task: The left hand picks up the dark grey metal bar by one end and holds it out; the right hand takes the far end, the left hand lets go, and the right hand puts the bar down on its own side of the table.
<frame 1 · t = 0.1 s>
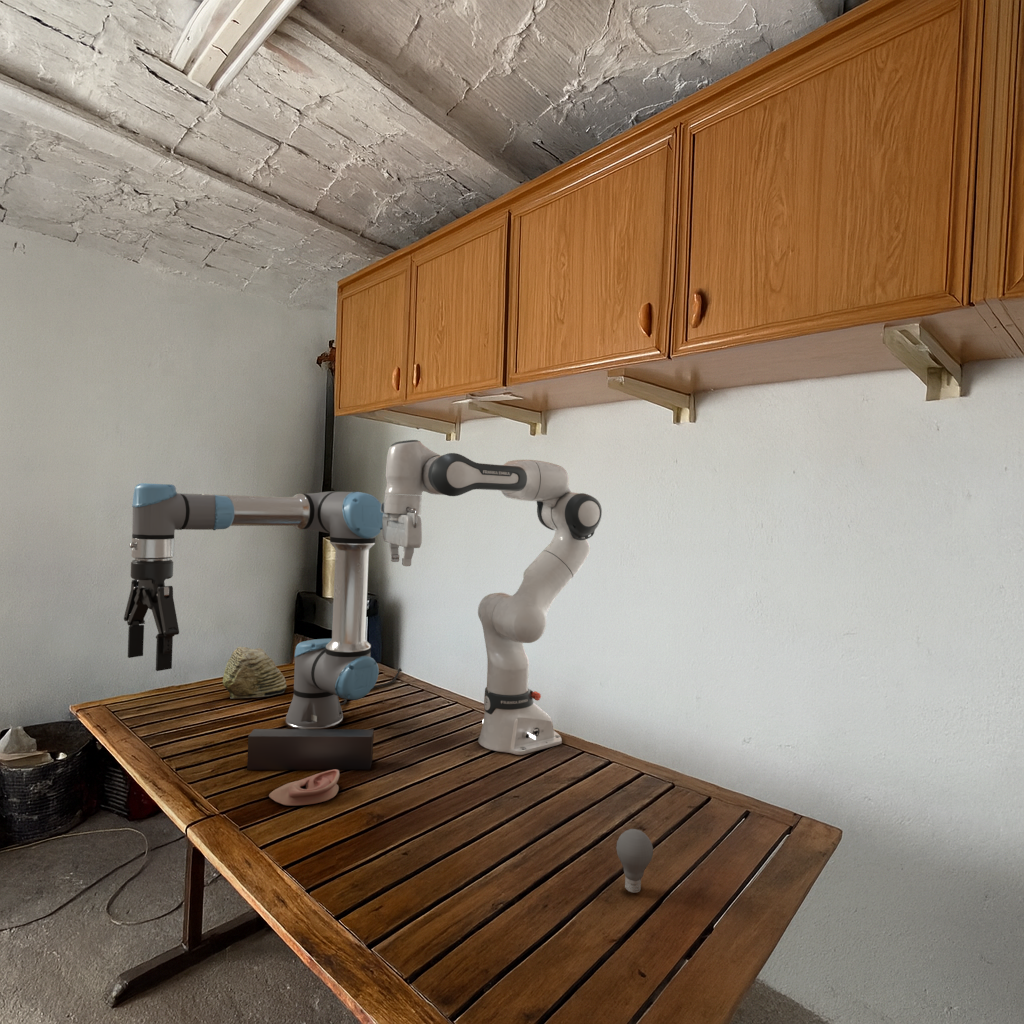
left hand: (149, 663, 129), 28 cm above the table, tool pointing down, fingers open, 13 cm apart
right hand: (400, 563, 153), 48 cm above the table, tool pointing down, fingers open, 8 cm apart
anatomical model: (304, 794, 134), on the table
light bulb: (632, 891, 106), on the table
bar: (311, 765, 149), on the table
fossil: (254, 694, 198), on the table
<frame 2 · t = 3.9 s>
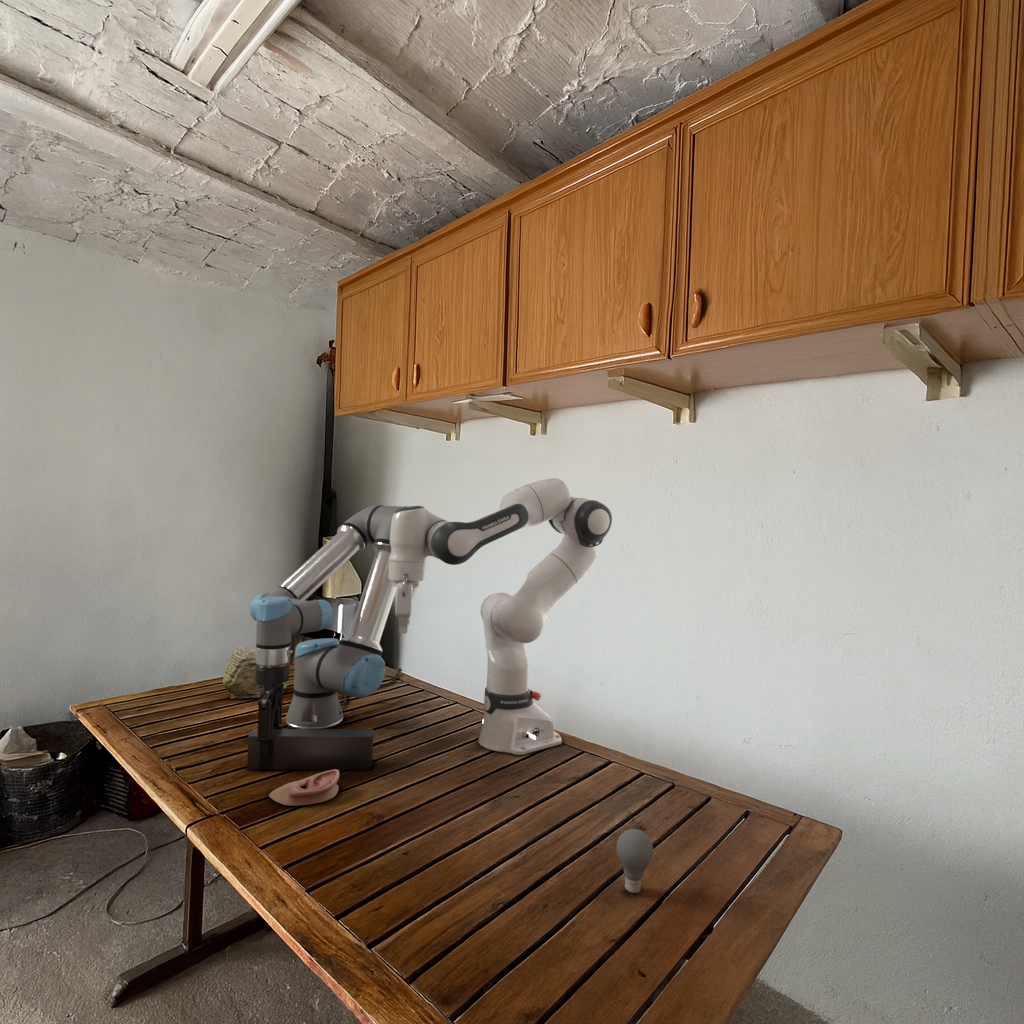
left hand: (269, 763, 148), 1 cm above the table, tool pointing down, fingers closed on bar, 5 cm apart
right hand: (404, 628, 154), 32 cm above the table, tool pointing down, fingers open, 8 cm apart
bar: (311, 765, 149), on the table, touching left hand
everything else where it was.
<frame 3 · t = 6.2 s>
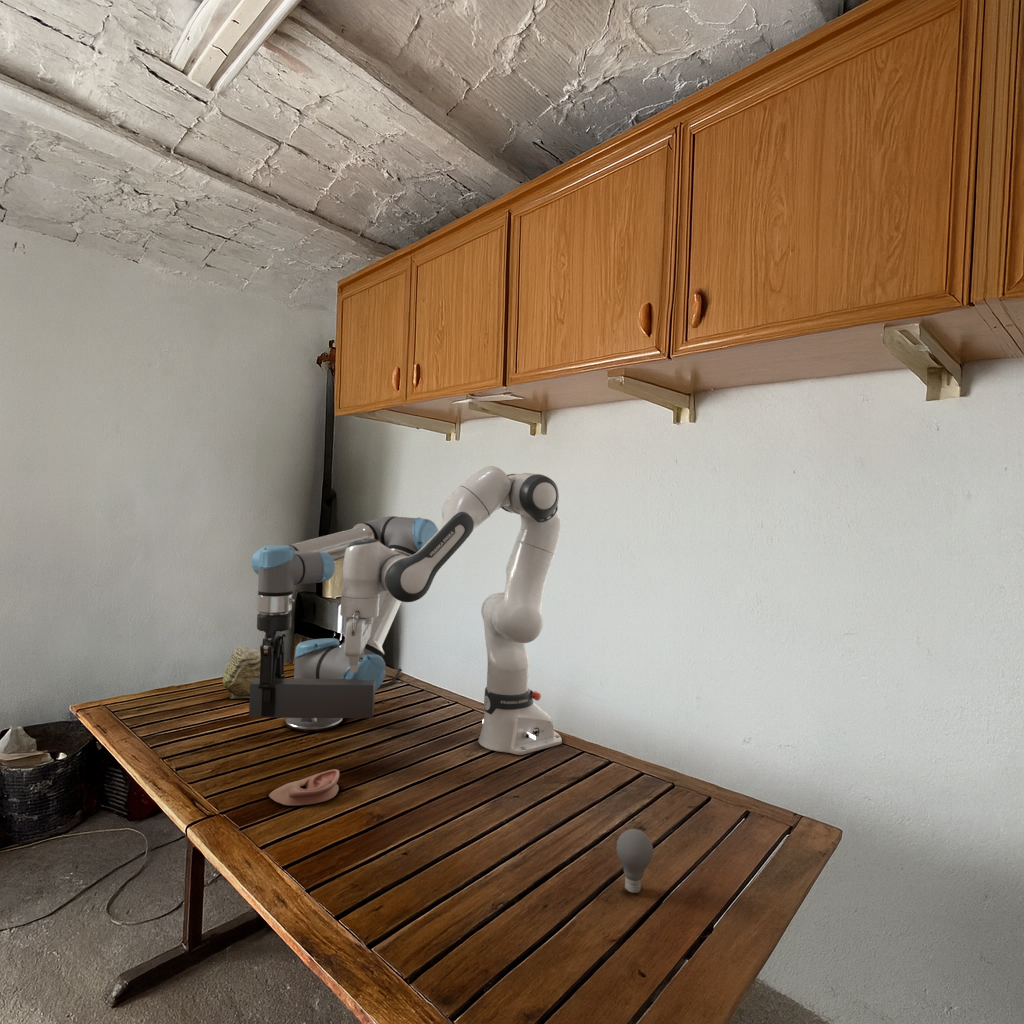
left hand: (270, 711, 148), 13 cm above the table, tool pointing down, fingers closed on bar, 5 cm apart
right hand: (356, 666, 149), 24 cm above the table, tool pointing down, fingers open, 8 cm apart
bar: (313, 714, 149), point 12 cm above the table, touching left hand
everything else where it was.
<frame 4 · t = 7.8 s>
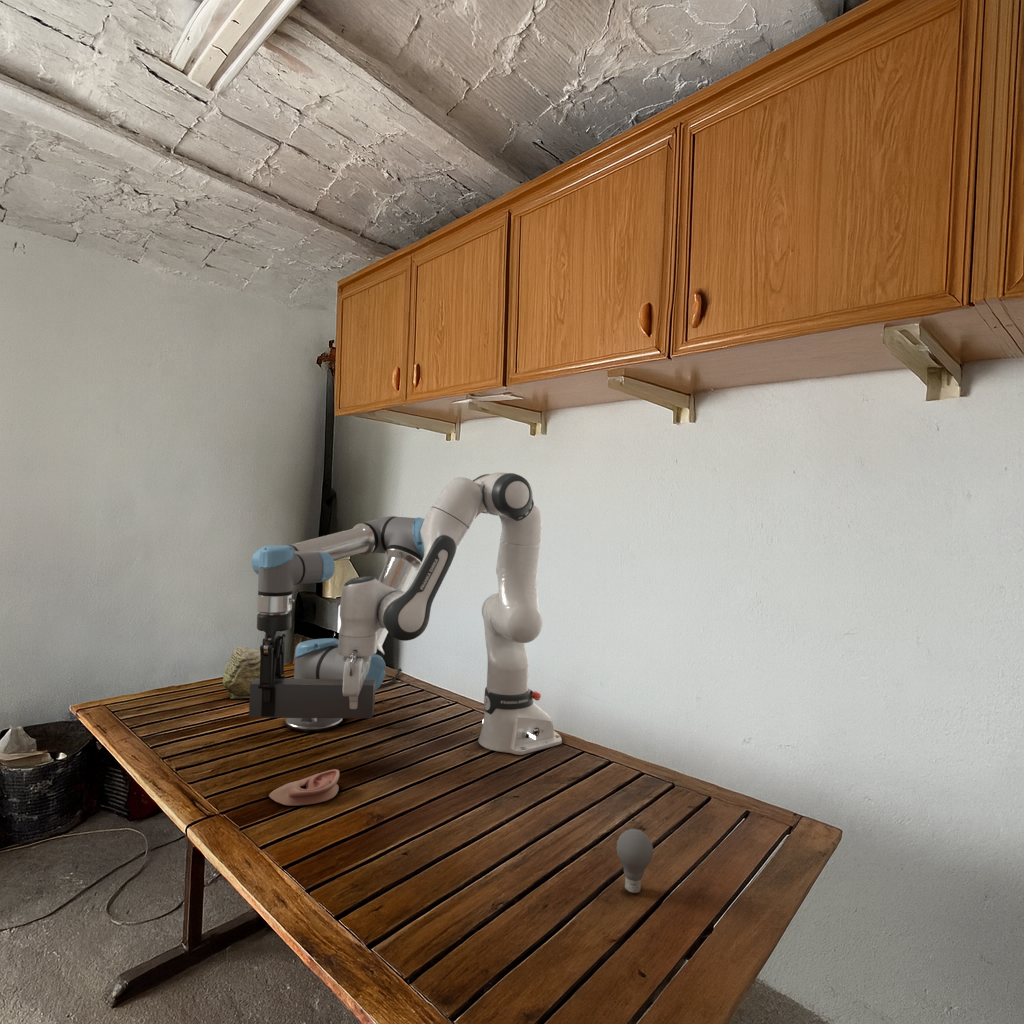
left hand: (270, 711, 148), 13 cm above the table, tool pointing down, fingers closed on bar, 5 cm apart
right hand: (355, 703, 150), 15 cm above the table, tool pointing down, fingers closed on bar, 4 cm apart
bar: (313, 714, 149), point 12 cm above the table, touching left hand, right hand
everything else where it was.
when the left hand's fingers open (13 cm above the table, at t = 8.5 s): bar stays where it is, held by the right hand.
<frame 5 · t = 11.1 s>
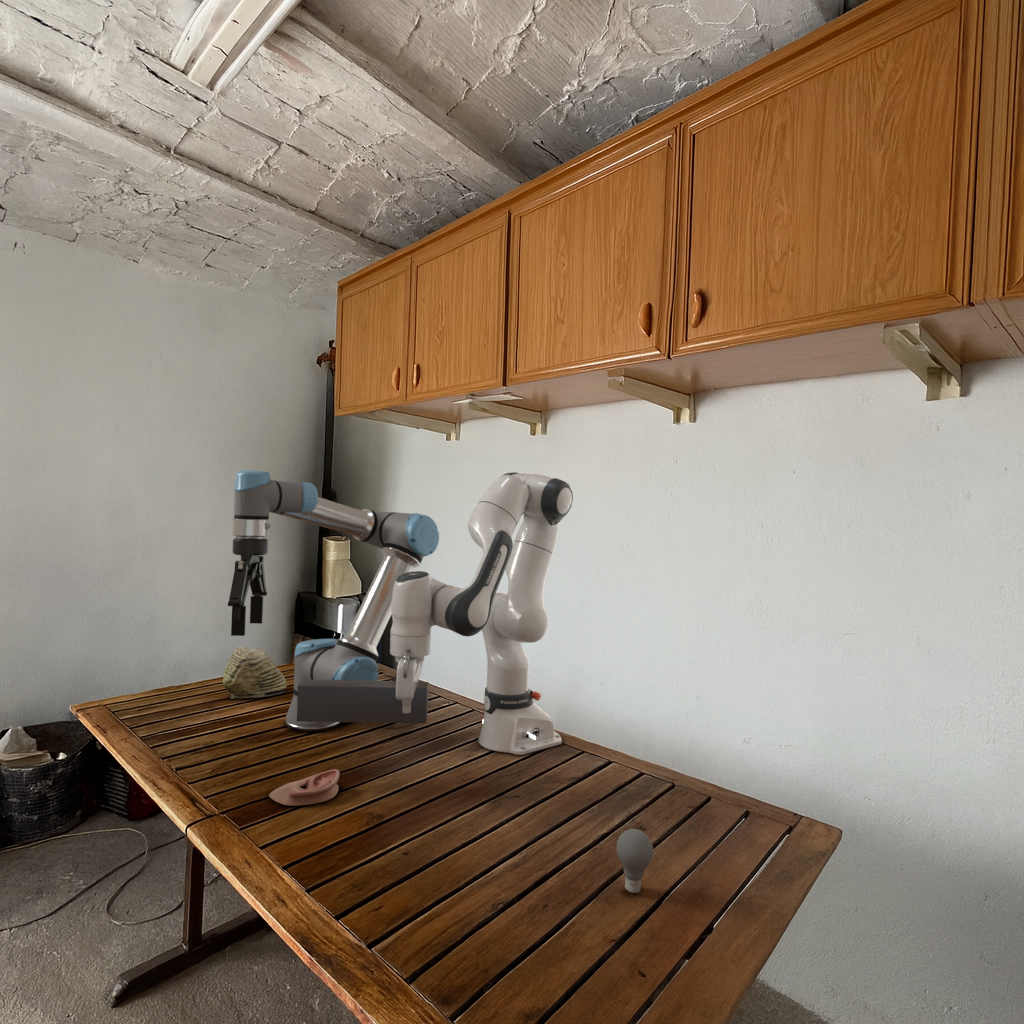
left hand: (247, 629, 146), 32 cm above the table, tool pointing down, fingers open, 13 cm apart
right hand: (408, 707, 140), 17 cm above the table, tool pointing down, fingers closed on bar, 4 cm apart
bar: (363, 718, 140), point 15 cm above the table, touching right hand
everything else where it was.
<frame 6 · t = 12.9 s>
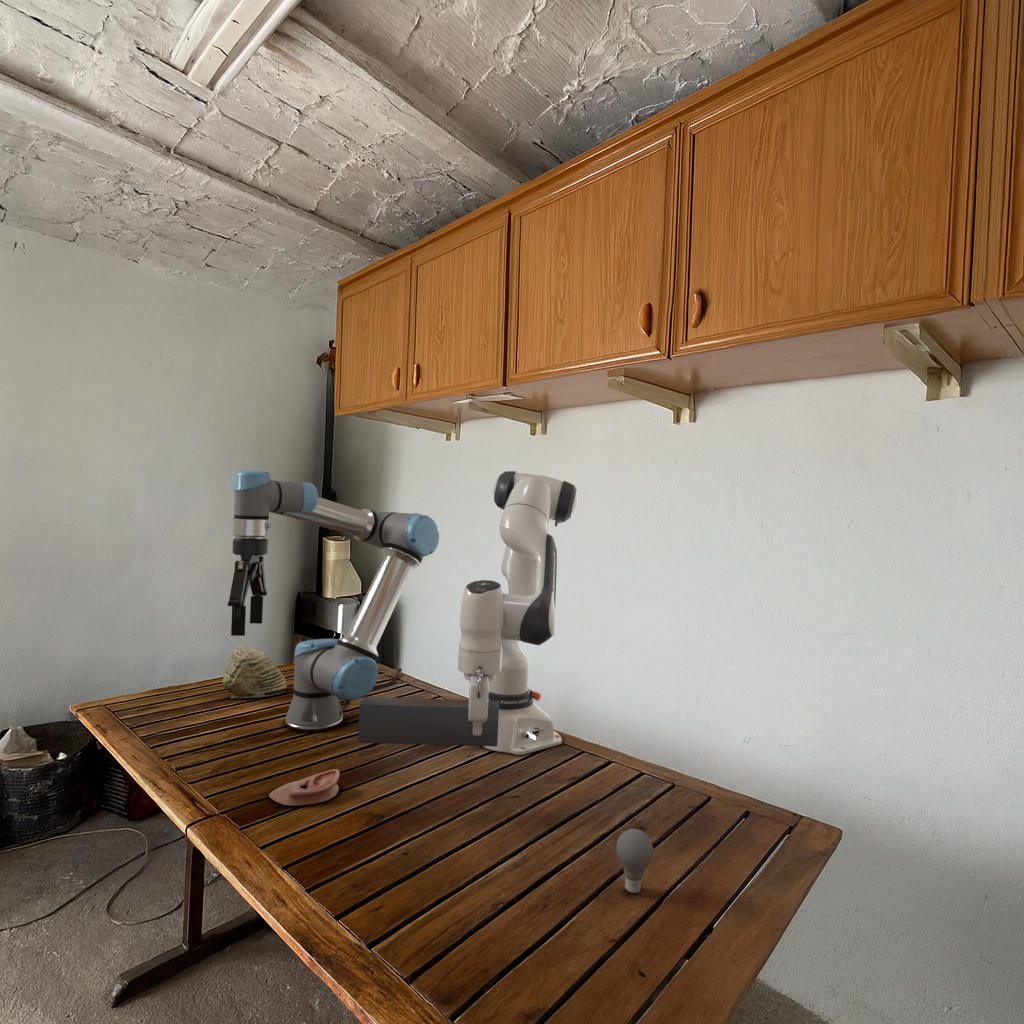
left hand: (247, 629, 146), 32 cm above the table, tool pointing down, fingers open, 13 cm apart
right hand: (477, 728, 129), 17 cm above the table, tool pointing down, fingers closed on bar, 4 cm apart
bar: (428, 740, 129), point 15 cm above the table, touching right hand
everything else where it was.
when the right hand's fingers open (4 cm above the table, at t = 14.6 s): bar stays where it is, on the table.
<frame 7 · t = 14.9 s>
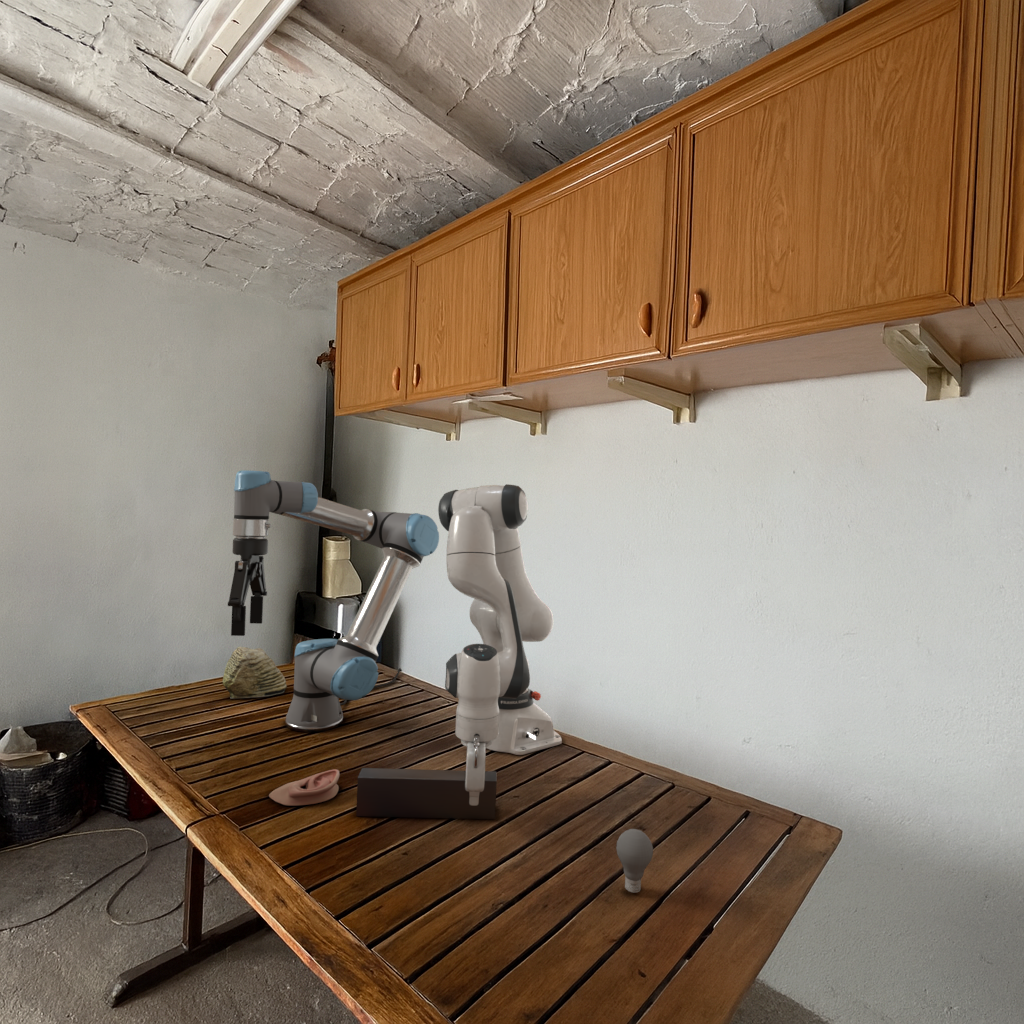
left hand: (247, 629, 146), 32 cm above the table, tool pointing down, fingers open, 13 cm apart
right hand: (474, 793, 129), 4 cm above the table, tool pointing down, fingers open, 8 cm apart
bar: (426, 812, 129), on the table
everything else where it was.
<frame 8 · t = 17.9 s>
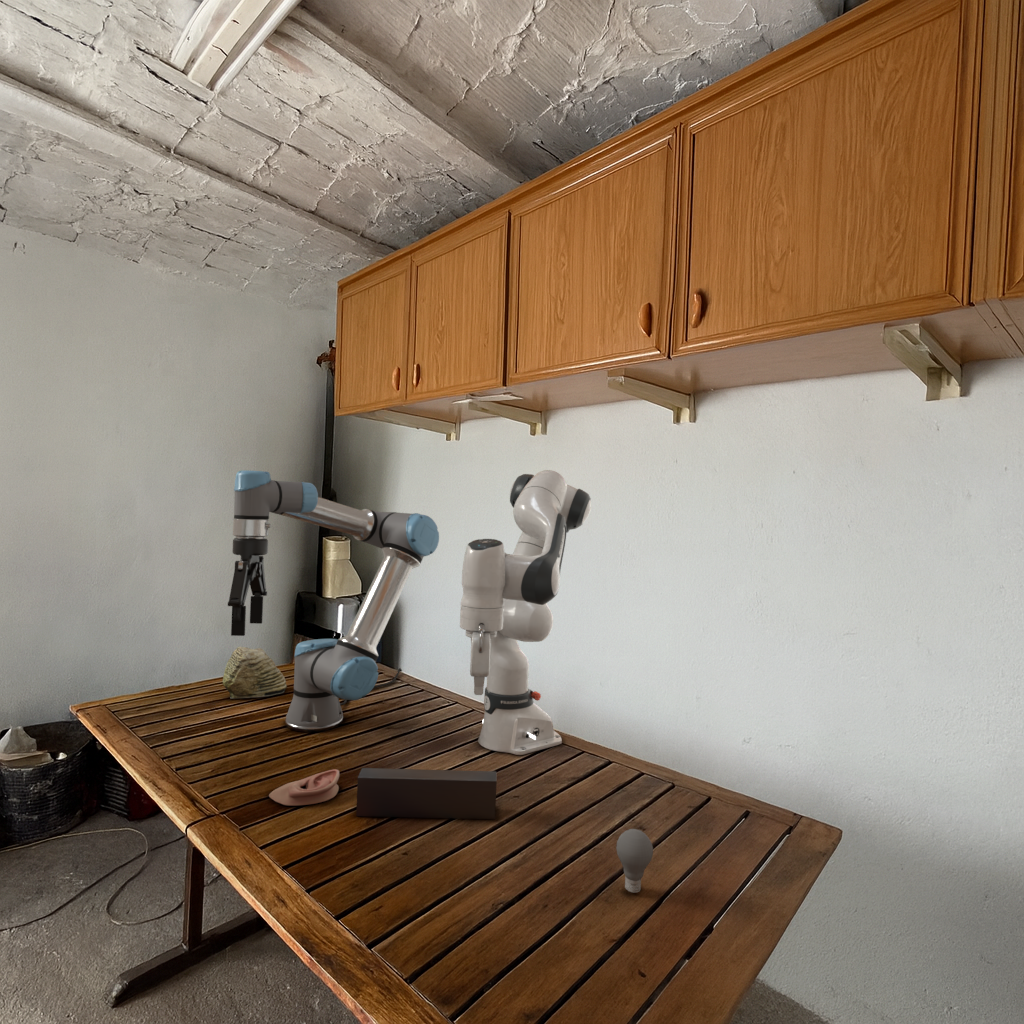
left hand: (247, 629, 146), 32 cm above the table, tool pointing down, fingers open, 13 cm apart
right hand: (478, 686, 129), 26 cm above the table, tool pointing down, fingers open, 8 cm apart
nothing on the table moved.
at the end: bar inside the target area (9.5 cm from its centre), on the table; the left hand is holding nothing; the right hand is holding nothing; bar at rest at the end (0.0 cm/s) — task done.
